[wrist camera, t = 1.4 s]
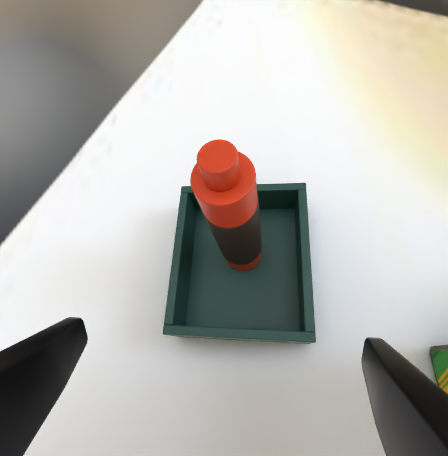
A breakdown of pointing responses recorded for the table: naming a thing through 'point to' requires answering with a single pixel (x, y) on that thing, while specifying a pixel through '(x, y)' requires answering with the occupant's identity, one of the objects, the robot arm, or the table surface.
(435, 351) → the chalk box
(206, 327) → the crayon tray
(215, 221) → the crayon
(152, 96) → the table surface
